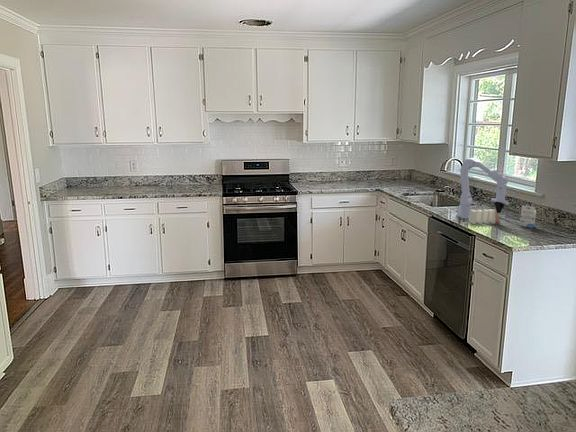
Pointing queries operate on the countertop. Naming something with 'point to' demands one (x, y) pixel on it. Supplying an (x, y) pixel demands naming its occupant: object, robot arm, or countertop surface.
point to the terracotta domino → (496, 217)
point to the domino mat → (490, 222)
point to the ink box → (527, 216)
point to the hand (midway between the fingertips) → (498, 212)
